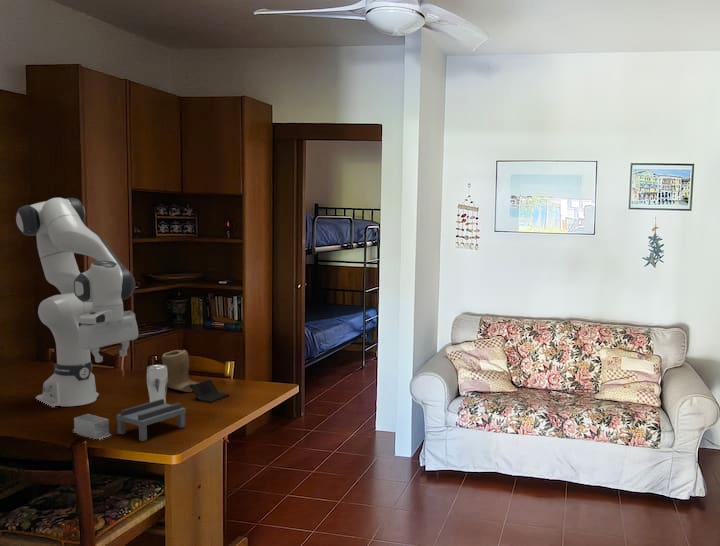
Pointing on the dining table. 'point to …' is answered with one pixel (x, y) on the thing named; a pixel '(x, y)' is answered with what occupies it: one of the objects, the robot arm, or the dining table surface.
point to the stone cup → (178, 370)
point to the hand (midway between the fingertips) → (111, 358)
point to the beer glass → (157, 382)
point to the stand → (149, 416)
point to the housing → (91, 426)
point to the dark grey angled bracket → (207, 392)
